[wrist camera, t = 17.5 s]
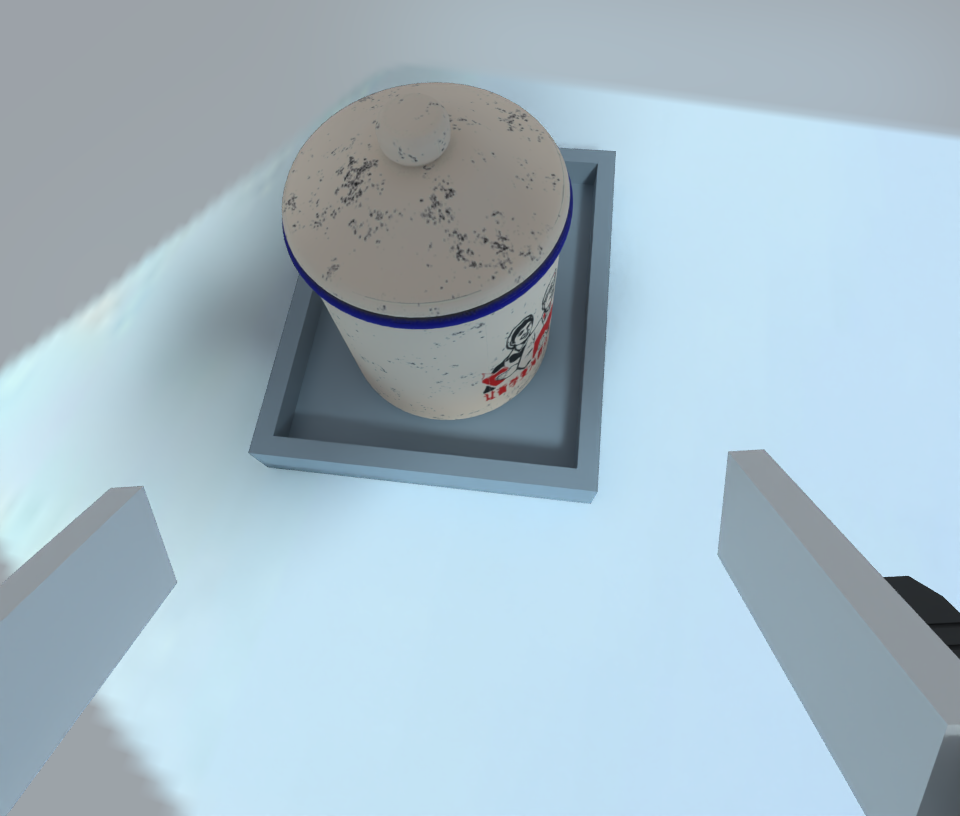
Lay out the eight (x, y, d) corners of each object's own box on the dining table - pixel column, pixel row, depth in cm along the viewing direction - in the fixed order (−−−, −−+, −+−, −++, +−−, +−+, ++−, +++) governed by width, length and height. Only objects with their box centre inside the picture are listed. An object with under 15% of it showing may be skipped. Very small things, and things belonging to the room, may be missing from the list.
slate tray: (609, 181, 30) (615, 151, 28) (590, 503, 24) (597, 491, 22) (349, 165, 31) (338, 135, 29) (267, 467, 25) (248, 453, 23)
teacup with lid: (527, 451, 24) (542, 292, 13) (321, 401, 25) (178, 220, 14) (585, 220, 28) (631, -46, 17) (405, 187, 29) (344, -78, 18)
